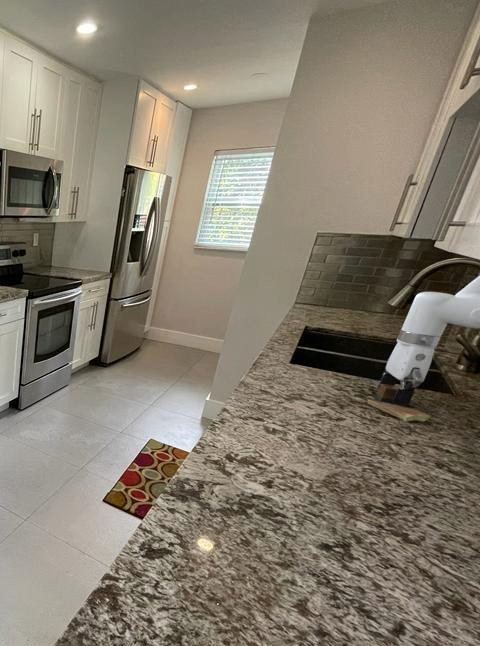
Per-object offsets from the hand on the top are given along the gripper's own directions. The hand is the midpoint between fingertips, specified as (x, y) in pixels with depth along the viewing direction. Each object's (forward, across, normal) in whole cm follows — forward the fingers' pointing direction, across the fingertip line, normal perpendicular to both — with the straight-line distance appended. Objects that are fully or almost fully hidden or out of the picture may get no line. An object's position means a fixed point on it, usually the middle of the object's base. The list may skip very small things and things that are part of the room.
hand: (392, 396), depth 116 cm
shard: (+2, -10, +2) cm, 10 cm away
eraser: (+2, 0, 0) cm, 2 cm away
